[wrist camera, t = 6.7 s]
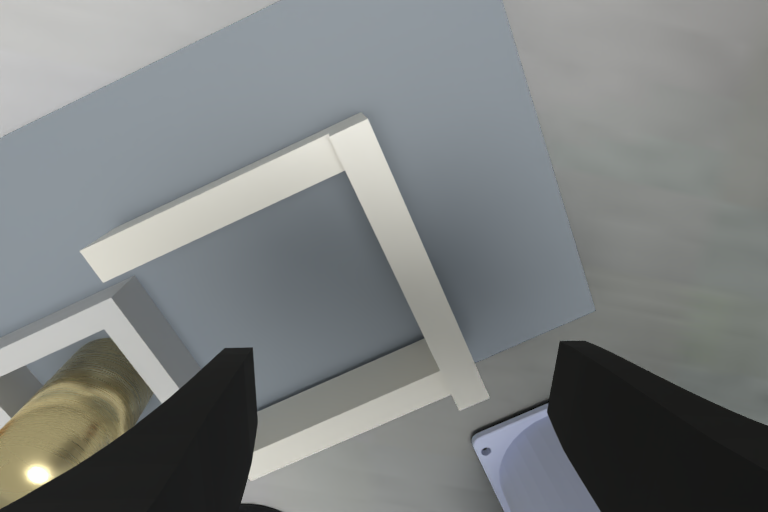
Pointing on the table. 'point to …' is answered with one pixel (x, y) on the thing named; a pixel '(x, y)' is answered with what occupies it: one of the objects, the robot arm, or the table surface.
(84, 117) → the base board
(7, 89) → the table surface
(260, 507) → the computer mouse
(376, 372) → the frame
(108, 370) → the pin
